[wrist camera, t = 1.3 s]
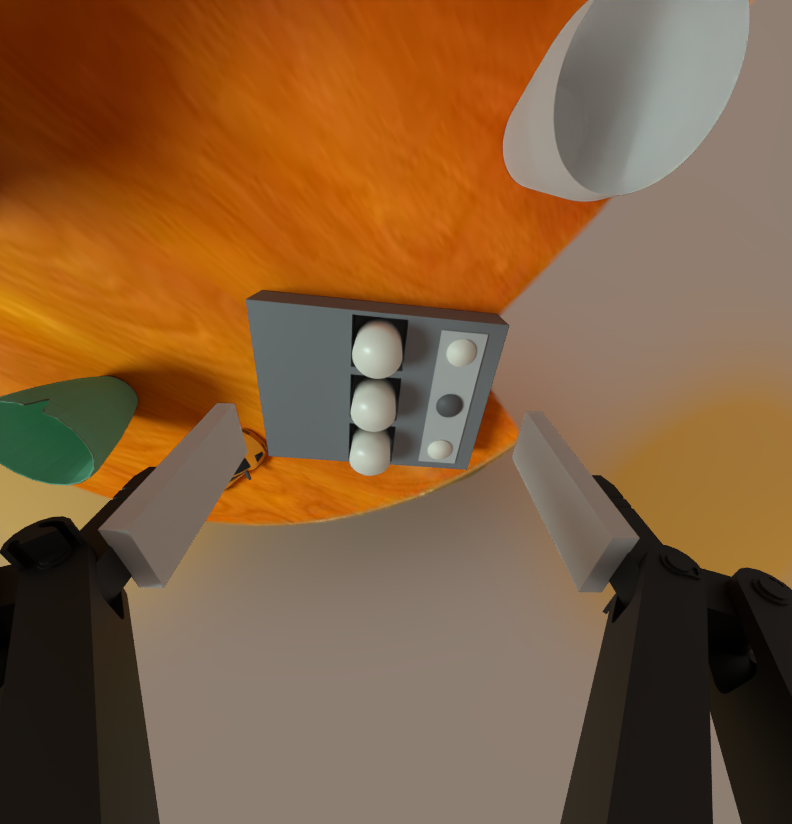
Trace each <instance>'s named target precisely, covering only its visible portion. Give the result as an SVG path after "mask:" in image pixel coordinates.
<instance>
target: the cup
mask: <svg viewBox="0 0 792 824" xmlns="http://www.w3.org/2000/svg"><path fill="white" fill-rule="evenodd" d="M749 21H750V10H749V0H588V1H587V2H586V3H585V4H584V5H583V6H582V7H581V8H580V9H579V10H578V11H577V12H576V13H575V14H574V15H573V16H572V17H571V19H570V20H569V21H568V22H567V24H566V25H565V26H564V27H563V29H562V30H561V31H560V33H559V34H558V36H557V37H556V39H555V40H554V42H553V43H552V45H551V47H550V48H549V50H548V52H547V53H546V55H545V57H544V58H543V60H542V62H541V63H540V65H539V67H538V68H537V70H536V72H535V74H534V75H533V77H532V79H531V80H530V82H529V84H528V86H527V87H526V89H525V91H524V92H523V94H522V96H521V98H520V99H519V101H518V103H517V104H516V106H515V108H514V110H513V111H512V113H511V115H510V117H509V120H508V122H507V125H506V129H505V133H504V139H503V157H504V162H505V165H506V168H507V170H508V172H509V174H510V176H511V177H512V178H513V179H514V180H515V181H516V182H517V183H518V184H520V185H521V186H523V187H526V188H529V189H533V190H536V191H540V192H543V193H547V194H550V195H554V196H557V197H561V198H564V199H568V200H573V201H583V202H588V201H597V200H602V199H605V198H610V197H614V196H619V195H624V194H629V193H633V192H636V191H639V190H642V189H645V188H647V187H649V186H651V185H653V184H655V183H656V182H658V181H660V180H661V179H663V178H664V177H666V176H667V175H669V174H670V173H671V172H673V171H674V170H675V169H677V168H678V167H679V166H680V165H681V164H682V163H683V162H684V161H685V160H687V158H688V157H689V156H690V155H691V154H692V153H693V152H694V151H695V150H696V149H697V148H698V147H699V145H700V144H701V143H702V142H703V141H704V139H705V138H706V137H707V135H708V134H709V133H710V131H711V129H712V128H713V127H714V125H715V124H716V122H717V121H718V119H719V117H720V116H721V114H722V112H723V110H724V109H725V107H726V105H727V103H728V101H729V99H730V97H731V94H732V92H733V90H734V87H735V85H736V82H737V80H738V77H739V74H740V71H741V68H742V64H743V61H744V57H745V53H746V48H747V42H748V36H749V25H750V22H749Z"/></svg>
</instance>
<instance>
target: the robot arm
mask: <svg viewBox="0 0 792 824" xmlns="http://www.w3.org/2000/svg"><path fill="white" fill-rule="evenodd" d="M247 452H248V451H247V447H246V444H245V440H244V436H243V433H242V429H241V425H240V422H239V418H238V414H237V411H236V407H235V404H232V403H217V404H216V405H215V406H214V407H213V408H212V409H211V410H210V411H209V412H208V413H207V414H206V415H205V416H204V418H203V419H202V420H201V421H200V422H199V423H198V424H197V425H196V426H195V427H194V428H193V429H192V430H191V431H190V432H189V433H188V435H187V436H186V437H185V438H184V439H183V440H182V441H181V442H180V443H179V444H178V445H177V446H176V447H175V448H174V449H173V450H172V452H171V453H170V454H169V455H168V456H167V457H166V458H165V459H164V460H163V461H162V462H161V463H160V464H159V465H158V466H157V467H148V468H147V469H145V470H143V471H142V472H140V473H139V474H137V475H136V476H134V477H133V478H132V479H131V480H130V481H129V482H128V483H127V484H126V485H125V486H124V487H123V488H122V490H120V491H119V492H118V493H117V494H116V495H115V496H114V497H113V500H110V501H109V502H108V503H107V504H106V505H105V506H104V507H103V508H102V509H101V510H100V511H99V512H98V513H97V514H96V515H95V516H94V517H93V518H92V519H91V520H90V521H89V522H88V523H87V524H86V525H85V526H84V527H83V528H82V529H81V530H80V531H79V530H78V528H77V527H76V526H75V525H74V523H73V522H72V521H71V519H70V518H66V517H63V516H61V517H51V518H47V519H44V520H40V521H38V522H36V523H33V524H31V525H29V526H27V527H25V528H23V529H22V530H20V531H19V532H17V533H16V534H14V535H13V536H12V537H11V538H9V539H8V540H7V541H6V542H5V543H4V544H3V546H2V548H1V550H0V554H1V555H2V556H3V557H4V558H5V559H6V560H8V562H9V563H11V565H7V566H3V567H0V824H160V822H159V815H158V808H157V801H156V794H155V787H154V780H153V774H152V766H151V759H150V752H149V745H148V738H147V731H146V724H145V717H144V710H143V703H142V696H141V689H140V682H139V675H138V668H137V661H136V654H135V647H134V640H133V633H132V626H131V619H130V612H129V605H128V598H127V593H126V592H125V590H124V588H123V587H124V586H125V585H126V583H127V582H128V581H129V579H130V578H131V577H132V578H133V580H134V581H135V582H136V584H137V585H138V587H153V588H160V587H161V588H164V587H165V585H166V584H167V582H168V581H169V579H170V577H171V576H172V574H173V572H174V571H175V569H176V568H177V566H178V564H179V563H180V561H181V560H182V558H183V556H184V555H185V553H186V551H187V550H188V548H189V546H190V545H191V543H192V542H193V540H194V538H195V537H196V535H197V534H198V532H199V530H200V529H201V527H202V525H203V524H204V522H205V521H206V519H207V517H208V516H209V514H210V512H211V511H212V509H213V508H214V506H215V504H216V503H217V501H218V499H219V498H220V496H221V495H222V493H223V491H224V490H225V488H226V486H227V485H228V483H229V482H230V480H231V478H232V477H233V475H234V473H235V472H236V470H237V469H238V467H239V465H240V464H241V462H242V460H243V459H244V457H245V456H246V454H247ZM512 459H513V461H514V463H515V465H516V467H517V469H518V471H519V473H520V475H521V477H522V479H523V481H524V483H525V485H526V487H527V489H528V491H529V493H530V495H531V497H532V499H533V501H534V503H535V505H536V508H537V510H538V512H539V514H540V515H541V518H542V519H543V521H544V524H545V526H546V527H547V530H548V532H549V533H550V536H551V538H552V540H553V542H554V544H555V546H556V548H557V550H558V552H559V554H560V556H561V558H562V560H563V562H564V564H565V566H566V568H567V570H568V572H569V574H570V576H571V578H572V580H573V582H574V584H575V586H576V588H577V590H578V592H602V591H603V590H604V588H605V587H606V585H607V584H608V583H609V582H610V584H611V585H612V587H613V588H614V590H615V592H616V594H615V595H614V596H613V598H612V599H611V600H610V602H609V603H608V604H607V606H606V607H605V609H604V610H603V612H604V613H606V614H607V613H608V611H609V614H608V619H607V623H606V627H605V632H604V636H603V641H602V645H601V650H600V654H599V658H598V663H597V667H596V671H595V675H594V680H593V684H592V688H591V693H590V697H589V701H588V706H587V710H586V714H585V719H584V723H583V727H582V732H581V736H580V741H579V745H578V750H577V754H576V758H575V762H574V767H573V771H572V775H571V780H570V784H569V788H568V793H567V797H566V802H565V806H564V810H563V815H562V819H561V823H560V824H713V811H712V775H711V736H710V712H711V716H712V719H713V723H714V727H715V730H716V734H717V737H718V741H719V745H720V748H721V752H722V755H723V759H724V762H725V766H726V770H727V773H728V777H729V780H730V784H731V788H732V791H733V794H734V798H735V802H736V805H737V809H738V813H739V816H740V820H741V823H742V824H792V590H791V589H790V588H789V587H788V586H786V585H785V584H784V583H783V582H781V581H779V580H778V579H776V578H775V577H773V576H771V575H769V574H767V573H764V572H762V571H760V570H756V569H751V568H741V569H739V570H738V571H737V572H736V573H735V574H734V575H733V576H732V577H730V576H727V575H723V574H720V573H716V572H713V571H709V570H706V569H701V568H700V567H699V566H698V564H697V563H696V562H695V561H694V560H692V559H691V558H690V557H689V556H688V555H686V554H684V553H683V552H681V551H679V550H677V549H675V548H672V547H670V546H667V545H663V544H662V543H661V542H660V541H659V539H658V538H657V537H656V536H655V535H654V533H653V532H652V531H651V530H650V528H649V527H648V526H647V525H646V524H645V522H644V521H643V520H642V519H641V518H640V516H639V515H638V514H637V513H636V511H635V510H634V509H632V508H631V505H630V504H629V503H628V502H627V501H626V500H625V499H623V496H622V494H621V493H620V492H619V491H618V490H617V488H616V487H615V486H614V485H613V484H611V483H610V482H609V481H607V480H606V479H604V478H603V477H602V476H601V475H599V476H598V475H591V474H590V473H589V472H588V470H587V469H586V468H585V466H584V465H583V464H582V463H581V461H580V460H579V459H578V457H577V456H576V455H575V454H574V452H573V451H572V450H571V448H570V447H569V446H568V444H567V443H566V442H565V440H564V439H563V438H562V437H561V435H560V434H559V433H558V431H557V430H556V429H555V427H554V426H553V425H552V423H551V422H550V421H549V420H548V418H547V417H546V416H545V414H544V413H543V412H531V411H526V413H525V416H524V420H523V423H522V426H521V430H520V433H519V436H518V439H517V443H516V446H515V449H514V453H513V456H512Z"/></svg>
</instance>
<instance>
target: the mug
mask: <svg viewBox="0 0 792 824" xmlns="http://www.w3.org/2000/svg"><path fill="white" fill-rule="evenodd" d="M137 405H138V398H137V395H136V393H135V392H134V390H133V389H132V388H131V387H130V386H129V385H128V384H127V383H125V382H123V381H122V380H120V379H118V378H115V377H111V376H99V377H88V378H80V379H74V380H67V381H61V382H56V383H52V384H47V385H43V386H38V387H34V388H30V389H26V390H22V391H18V392H15V393H11V394H8V395H4V396H1V397H0V464H1V465H3V466H5V467H6V468H8V469H10V470H12V471H13V472H15V473H17V474H20V475H22V476H25V477H27V478H29V479H32V480H35V481H39V482H43V483H47V484H54V485H72V484H78V483H82V482H83V481H85V480H87V479H88V478H90V477H91V476H92V475H93V474H95V473H96V472H97V471H98V470H99V468H100V467H101V465H102V464H103V463H104V461H105V460H106V459H107V457H108V456H109V455H110V453H111V452H112V450H113V449H114V448H115V446H116V445H117V443H118V442H119V441H120V439H121V437H122V436H123V434H124V432H125V430H126V428H127V427H128V425H129V423H130V421H131V419H132V417H133V415H134V412H135V410H136V407H137Z"/></svg>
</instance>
